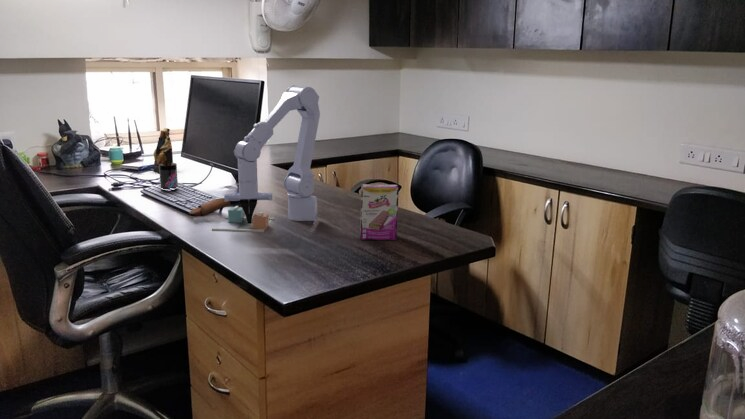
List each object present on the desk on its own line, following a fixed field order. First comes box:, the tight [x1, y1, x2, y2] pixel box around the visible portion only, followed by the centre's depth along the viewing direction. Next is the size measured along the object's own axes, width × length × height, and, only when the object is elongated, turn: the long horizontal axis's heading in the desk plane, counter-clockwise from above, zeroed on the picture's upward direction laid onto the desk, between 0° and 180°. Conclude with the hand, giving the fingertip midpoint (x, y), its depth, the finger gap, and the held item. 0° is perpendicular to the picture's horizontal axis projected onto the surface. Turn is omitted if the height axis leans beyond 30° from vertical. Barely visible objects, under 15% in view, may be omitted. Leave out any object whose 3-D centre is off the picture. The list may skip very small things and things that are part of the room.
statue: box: [152, 127, 174, 174], centre depth 281 cm, size 12×8×20 cm, turn 37°
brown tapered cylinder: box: [188, 197, 231, 217], centre depth 213 cm, size 18×7×7 cm
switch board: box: [211, 216, 275, 233], centre depth 195 cm, size 16×15×2 cm
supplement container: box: [159, 162, 179, 189], centre depth 246 cm, size 7×7×10 cm
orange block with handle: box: [252, 211, 270, 230], centre depth 191 cm, size 4×4×5 cm
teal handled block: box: [227, 205, 245, 224], centre depth 198 cm, size 4×4×5 cm
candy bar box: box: [359, 183, 399, 241], centre depth 185 cm, size 11×5×16 cm, turn 92°
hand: (249, 223), depth 192 cm, fingers closed
